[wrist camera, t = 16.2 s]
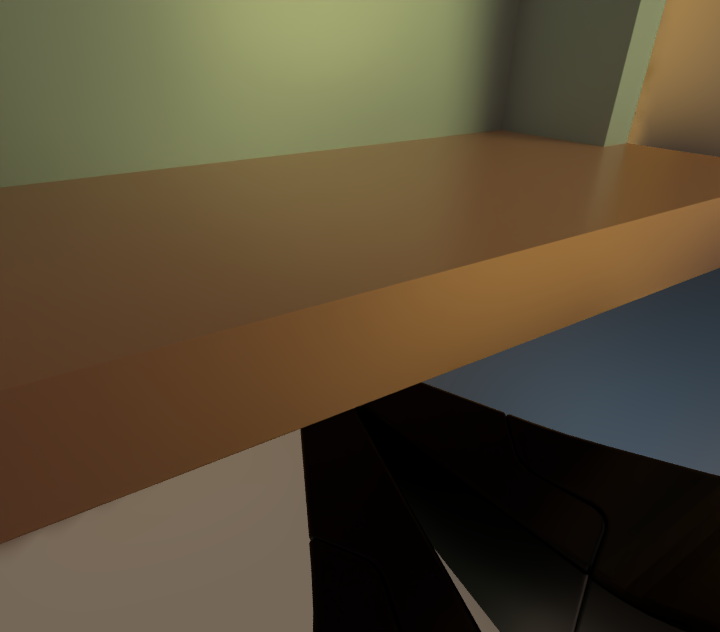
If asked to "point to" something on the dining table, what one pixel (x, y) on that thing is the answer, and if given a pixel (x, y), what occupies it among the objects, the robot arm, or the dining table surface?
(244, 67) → the tray
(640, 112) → the dining table surface
